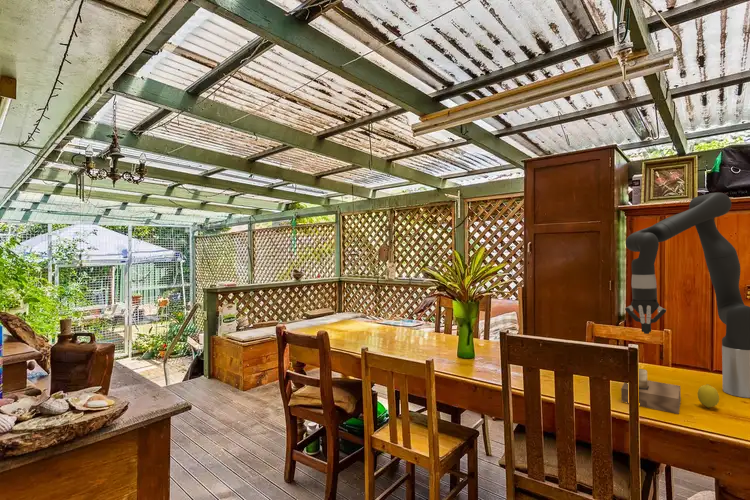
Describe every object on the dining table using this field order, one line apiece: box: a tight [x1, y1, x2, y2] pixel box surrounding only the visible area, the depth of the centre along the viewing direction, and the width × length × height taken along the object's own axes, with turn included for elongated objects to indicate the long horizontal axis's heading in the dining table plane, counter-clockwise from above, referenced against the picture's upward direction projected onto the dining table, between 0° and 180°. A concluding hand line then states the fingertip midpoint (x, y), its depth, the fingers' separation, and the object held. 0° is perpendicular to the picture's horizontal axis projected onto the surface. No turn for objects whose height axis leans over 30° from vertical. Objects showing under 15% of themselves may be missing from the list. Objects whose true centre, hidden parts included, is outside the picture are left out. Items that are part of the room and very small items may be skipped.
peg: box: [639, 368, 648, 390], centre depth 138 cm, size 4×4×11 cm
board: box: [620, 379, 682, 415], centre depth 138 cm, size 16×15×5 cm
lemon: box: [697, 383, 720, 409], centre depth 131 cm, size 6×6×8 cm
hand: (646, 333), depth 142 cm, fingers closed
